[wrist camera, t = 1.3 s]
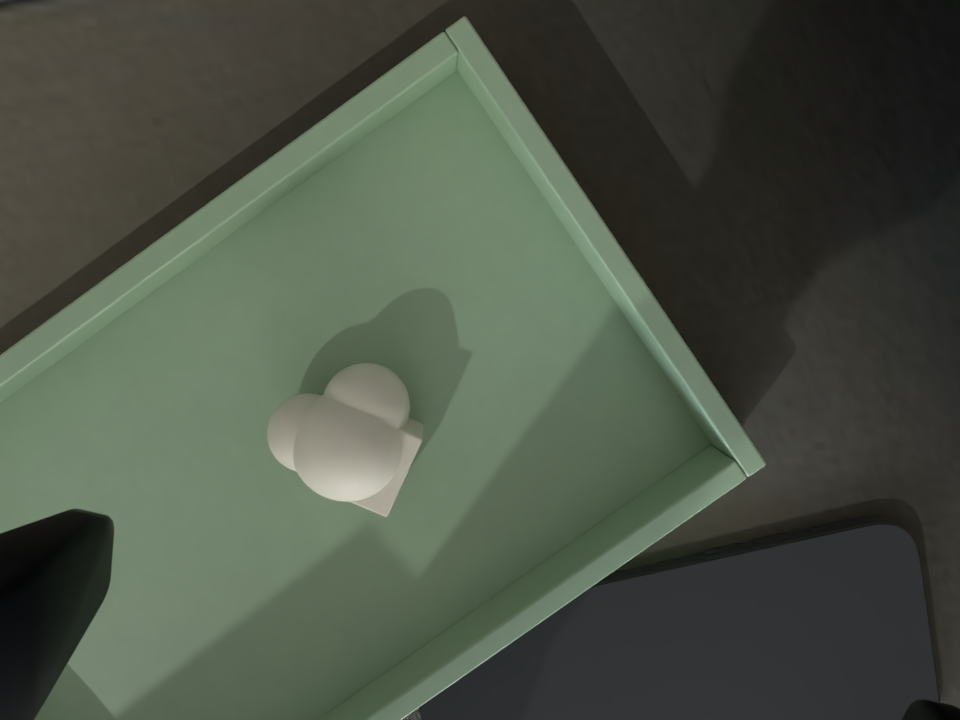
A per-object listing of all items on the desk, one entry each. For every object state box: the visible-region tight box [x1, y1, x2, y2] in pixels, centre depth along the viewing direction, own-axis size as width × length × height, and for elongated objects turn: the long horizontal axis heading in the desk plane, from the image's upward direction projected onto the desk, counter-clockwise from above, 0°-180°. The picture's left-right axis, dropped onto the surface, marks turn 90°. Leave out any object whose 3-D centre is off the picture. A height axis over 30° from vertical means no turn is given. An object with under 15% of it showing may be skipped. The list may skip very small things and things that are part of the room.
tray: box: [0, 17, 766, 720], centre depth 20 cm, size 21×13×2 cm, turn 125°
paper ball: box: [267, 363, 423, 517], centre depth 19 cm, size 4×4×3 cm
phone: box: [419, 516, 940, 720], centre depth 23 cm, size 7×1×15 cm
